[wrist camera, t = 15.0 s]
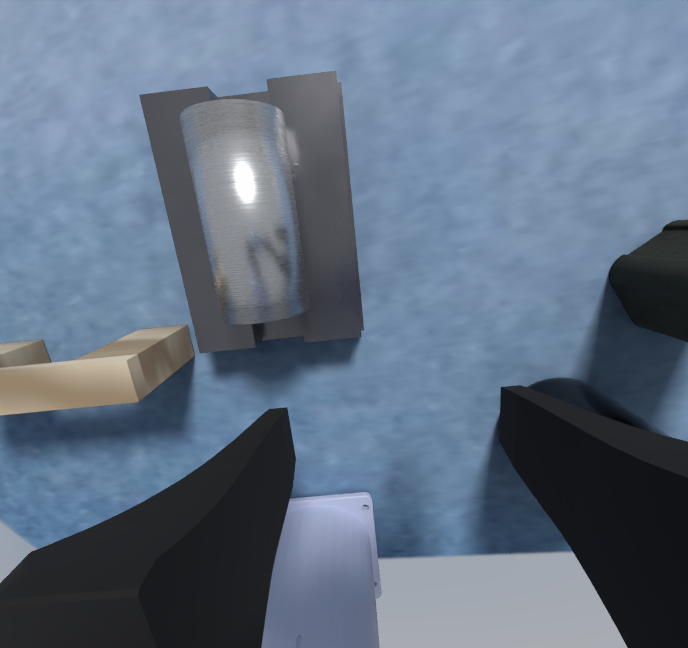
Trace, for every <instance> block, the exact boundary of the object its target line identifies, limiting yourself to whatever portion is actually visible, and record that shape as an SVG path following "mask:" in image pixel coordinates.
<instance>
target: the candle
mask: <svg viewBox="0 0 688 648" xmlns="http://www.w3.org/2000/svg"><path fill="white" fill-rule="evenodd" d="M610 282H611V284H612V286H613V288H614V290H615V291H616V293H617V295H618V297H619V298H620V300H621V302H622V304H623V305H624V307H625V309H626V311H627V312H628V314H629V316H630V318H631V319H632V321H633V322H634V323H635V324H636V325H638V326H640V327H643V328H646V329H649V330H652V331H655V332H658V333H662V334H665V335H668V336H671V337H674V338H677V339H680V340H684V341H687V342H688V220H677V221H674V222H671V223H669V224H667V225H666V226H665V229H664V231H662V232H661V233H659V234H658V235H656V236H655V237H654V238H652V239H651V240H649V241H648V242H646V243H645V244H643V245H642V246H640V247H639V248H637V249H636V250H634V251H633V252H631V253H630V254H629V255H622V256H621V257H619V258H618V259H617V260H616V261H615V263H614V264H613V266H612V268H611V271H610Z"/></svg>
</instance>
